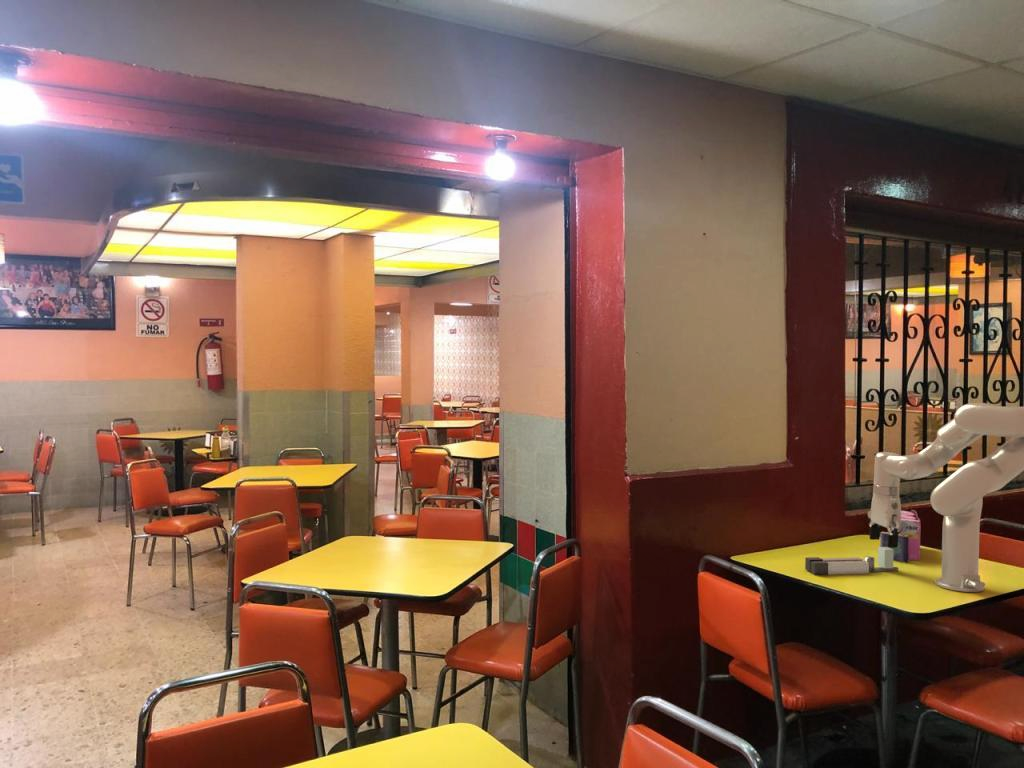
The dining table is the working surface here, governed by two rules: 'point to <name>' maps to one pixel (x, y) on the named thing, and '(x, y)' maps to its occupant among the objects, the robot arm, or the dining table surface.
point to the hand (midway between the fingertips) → (883, 543)
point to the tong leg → (827, 560)
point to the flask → (899, 551)
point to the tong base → (846, 567)
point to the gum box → (911, 533)
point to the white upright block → (885, 557)
